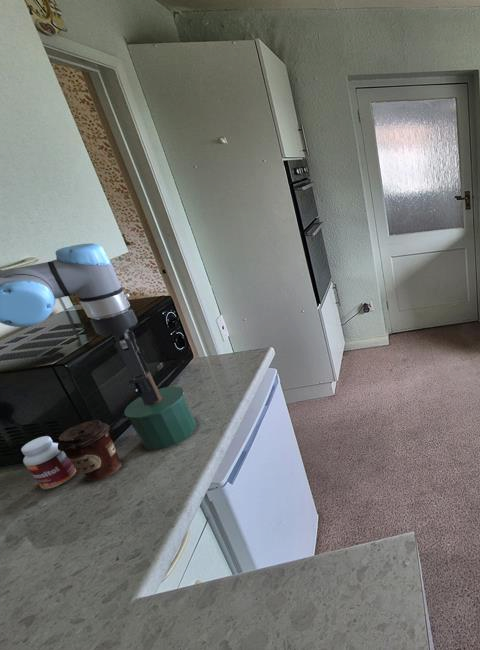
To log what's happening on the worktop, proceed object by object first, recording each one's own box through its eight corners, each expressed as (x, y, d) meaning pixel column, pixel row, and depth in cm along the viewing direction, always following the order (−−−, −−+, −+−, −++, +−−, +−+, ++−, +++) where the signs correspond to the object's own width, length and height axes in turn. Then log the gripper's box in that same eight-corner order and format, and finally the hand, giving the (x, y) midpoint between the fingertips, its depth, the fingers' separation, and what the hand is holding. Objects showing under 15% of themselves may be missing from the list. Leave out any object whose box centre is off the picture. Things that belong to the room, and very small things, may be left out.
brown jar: (106, 487, 86) (78, 443, 80) (71, 489, 86) (41, 445, 81) (136, 458, 93) (113, 416, 88) (104, 459, 94) (79, 417, 89)
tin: (135, 455, 94) (117, 422, 90) (158, 425, 104) (142, 394, 100) (185, 445, 96) (169, 412, 92) (203, 417, 106) (189, 386, 102)
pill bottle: (35, 494, 85) (8, 458, 81) (50, 474, 91) (25, 439, 86) (70, 484, 87) (45, 447, 83) (82, 465, 93) (59, 430, 88)
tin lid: (114, 426, 90) (96, 394, 86) (142, 395, 101) (127, 365, 97) (172, 415, 92) (157, 383, 88) (193, 386, 103) (180, 357, 99)
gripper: (136, 322, 79) (174, 404, 88) (127, 295, 97) (160, 366, 105) (88, 335, 75) (134, 421, 83) (89, 304, 92) (126, 377, 101)
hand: (149, 390), depth 94 cm, fingers open, 13 cm apart
